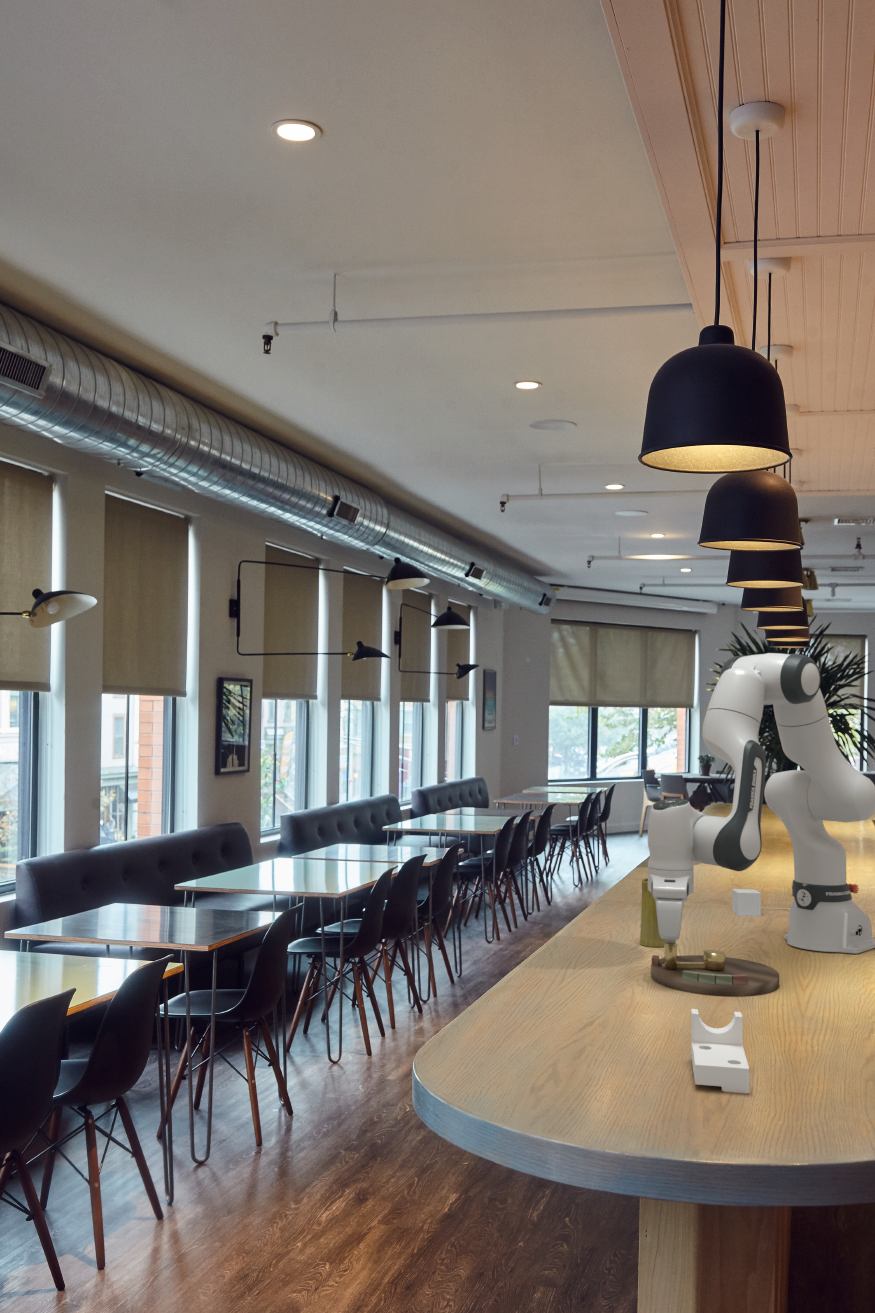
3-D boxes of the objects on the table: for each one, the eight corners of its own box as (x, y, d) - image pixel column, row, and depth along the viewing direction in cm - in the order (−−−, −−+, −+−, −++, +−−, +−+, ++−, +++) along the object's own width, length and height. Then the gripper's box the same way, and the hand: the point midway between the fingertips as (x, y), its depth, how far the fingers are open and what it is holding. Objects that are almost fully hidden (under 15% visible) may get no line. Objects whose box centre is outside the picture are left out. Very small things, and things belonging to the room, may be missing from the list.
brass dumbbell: (721, 965, 205) (721, 942, 205) (727, 970, 201) (727, 947, 201) (659, 965, 205) (659, 942, 205) (664, 970, 201) (664, 946, 201)
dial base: (709, 960, 219) (709, 943, 220) (806, 985, 200) (806, 966, 200) (625, 974, 206) (625, 956, 206) (720, 1002, 186) (720, 982, 186)
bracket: (691, 1061, 155) (691, 1009, 155) (741, 1064, 154) (740, 1012, 154) (695, 1091, 142) (695, 1034, 143) (749, 1096, 141) (749, 1038, 141)
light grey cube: (732, 912, 277) (732, 889, 277) (755, 912, 277) (754, 889, 277) (737, 916, 271) (737, 892, 271) (761, 916, 271) (761, 893, 271)
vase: (667, 948, 231) (667, 882, 231) (639, 946, 232) (639, 881, 233) (667, 942, 237) (667, 878, 237) (639, 941, 238) (639, 877, 239)
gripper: (656, 874, 217) (656, 942, 216) (652, 889, 197) (652, 964, 196) (687, 875, 215) (687, 943, 215) (686, 891, 196) (686, 966, 195)
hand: (670, 954), depth 205 cm, fingers closed
